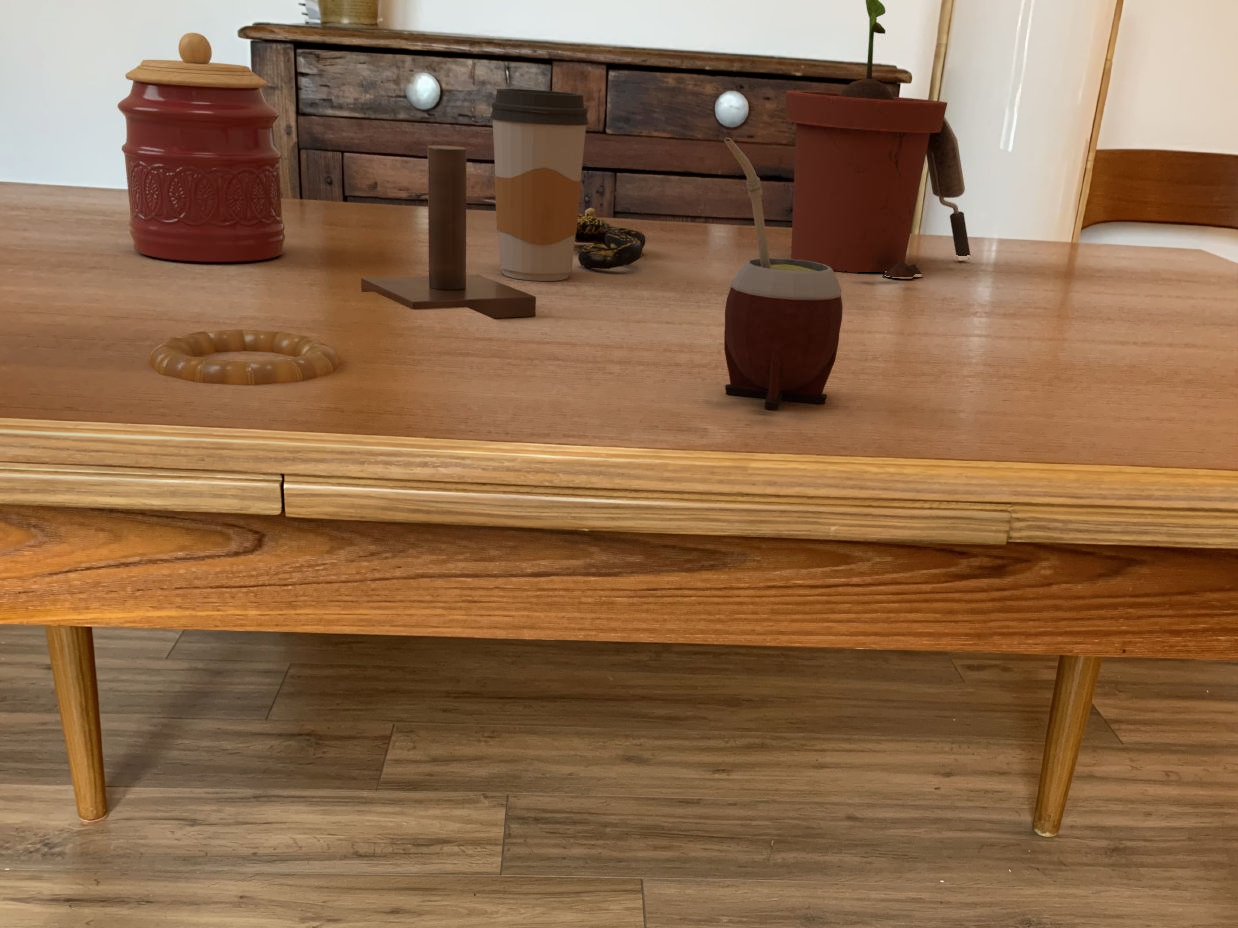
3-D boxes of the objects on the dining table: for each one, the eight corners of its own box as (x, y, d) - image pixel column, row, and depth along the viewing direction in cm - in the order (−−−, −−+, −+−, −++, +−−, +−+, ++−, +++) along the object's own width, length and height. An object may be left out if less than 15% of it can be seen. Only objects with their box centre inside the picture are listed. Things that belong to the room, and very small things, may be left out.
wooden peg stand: (412, 322, 97) (410, 153, 92) (361, 297, 104) (356, 139, 99) (536, 316, 102) (539, 155, 97) (478, 293, 109) (479, 142, 105)
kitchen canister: (184, 269, 111) (164, 32, 103) (102, 246, 118) (79, 24, 111) (315, 258, 120) (306, 40, 112) (232, 238, 127) (218, 32, 120)
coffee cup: (574, 268, 124) (581, 92, 118) (589, 284, 117) (597, 97, 110) (484, 265, 122) (485, 86, 116) (493, 281, 115) (495, 91, 108)
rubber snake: (636, 216, 120) (526, 217, 122) (637, 270, 122) (529, 270, 123) (660, 204, 137) (564, 204, 138) (661, 251, 139) (566, 251, 140)
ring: (181, 408, 72) (177, 371, 71) (133, 365, 80) (130, 331, 79) (365, 393, 78) (364, 359, 77) (303, 355, 85) (302, 323, 85)
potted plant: (770, 246, 147) (793, -9, 137) (968, 260, 146) (1007, 6, 136) (770, 270, 131) (797, -17, 120) (993, 287, 130) (1040, 0, 120)
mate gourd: (834, 390, 86) (864, 140, 80) (828, 420, 79) (860, 148, 73) (719, 379, 87) (739, 130, 81) (702, 407, 80) (723, 137, 73)
